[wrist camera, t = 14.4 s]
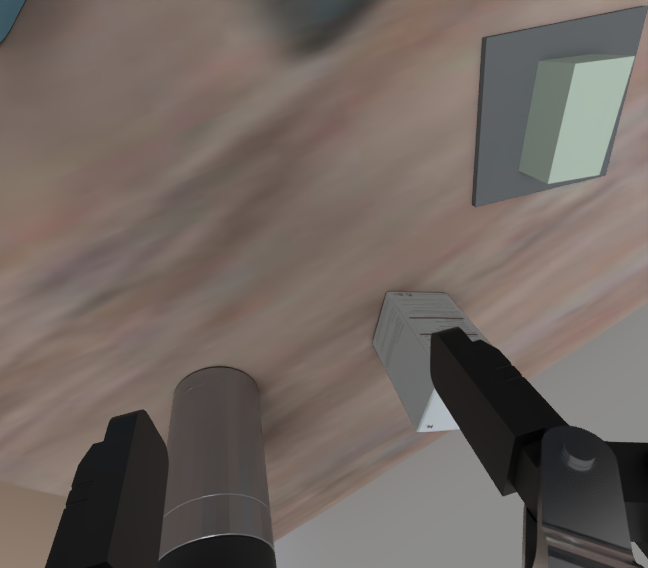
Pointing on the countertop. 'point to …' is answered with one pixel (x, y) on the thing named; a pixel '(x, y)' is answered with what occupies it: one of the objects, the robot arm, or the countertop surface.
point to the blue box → (8, 15)
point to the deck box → (573, 115)
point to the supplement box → (418, 351)
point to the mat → (517, 89)
